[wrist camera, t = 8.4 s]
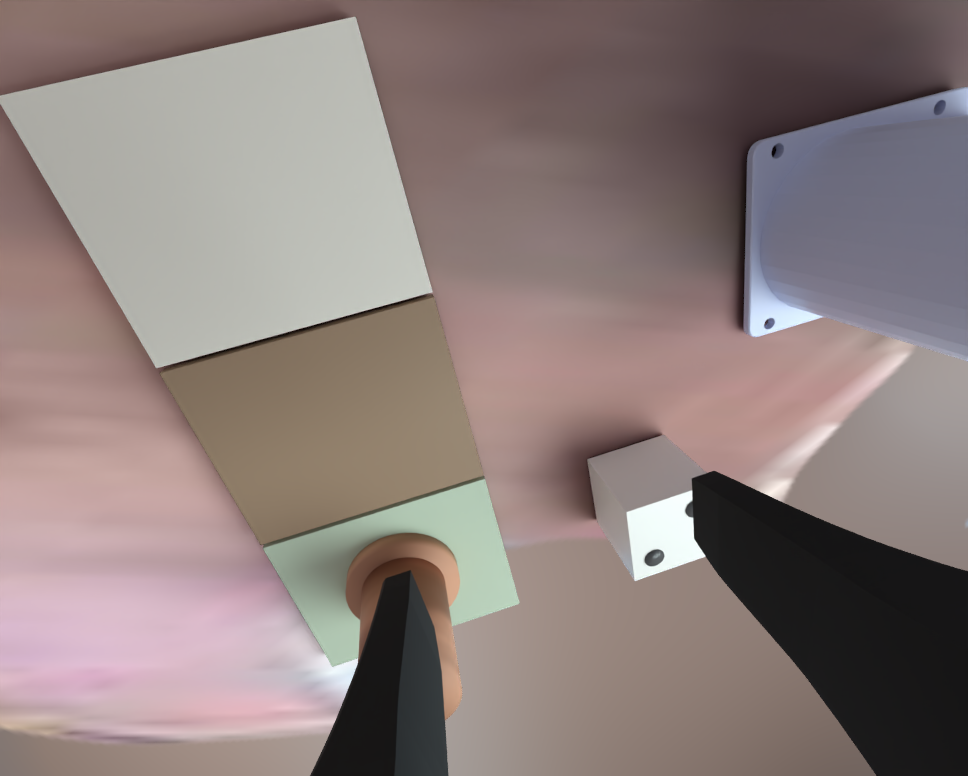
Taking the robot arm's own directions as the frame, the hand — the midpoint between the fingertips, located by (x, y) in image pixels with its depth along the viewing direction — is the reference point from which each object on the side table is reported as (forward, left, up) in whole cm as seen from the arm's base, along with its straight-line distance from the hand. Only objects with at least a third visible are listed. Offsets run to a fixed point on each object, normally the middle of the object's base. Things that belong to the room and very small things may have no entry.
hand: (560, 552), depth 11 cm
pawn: (+6, +8, -9) cm, 13 cm away
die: (-6, +7, -10) cm, 13 cm away
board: (+6, -1, -9) cm, 11 cm away
